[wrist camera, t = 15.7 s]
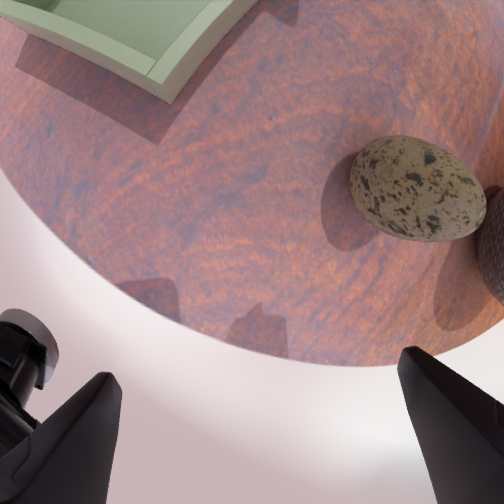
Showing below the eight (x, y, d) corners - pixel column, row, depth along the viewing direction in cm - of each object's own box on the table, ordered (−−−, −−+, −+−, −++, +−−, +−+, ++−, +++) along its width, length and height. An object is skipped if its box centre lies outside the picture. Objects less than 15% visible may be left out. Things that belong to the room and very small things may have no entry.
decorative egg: (405, 146, 19) (517, 165, 10) (390, 223, 21) (492, 275, 12) (338, 125, 18) (455, 123, 8) (322, 213, 19) (424, 273, 10)
